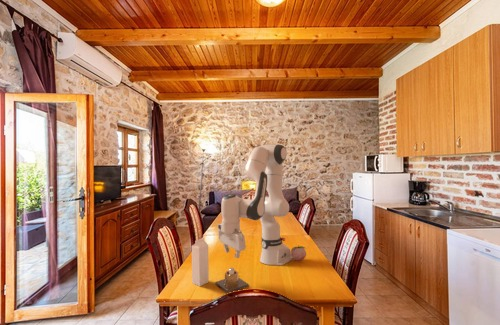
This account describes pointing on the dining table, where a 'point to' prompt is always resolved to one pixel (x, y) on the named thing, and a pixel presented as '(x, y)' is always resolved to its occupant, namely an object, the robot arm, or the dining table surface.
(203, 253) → the milk
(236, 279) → the collar
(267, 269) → the dining table surface
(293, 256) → the decorative fruit
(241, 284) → the grey peg stand
